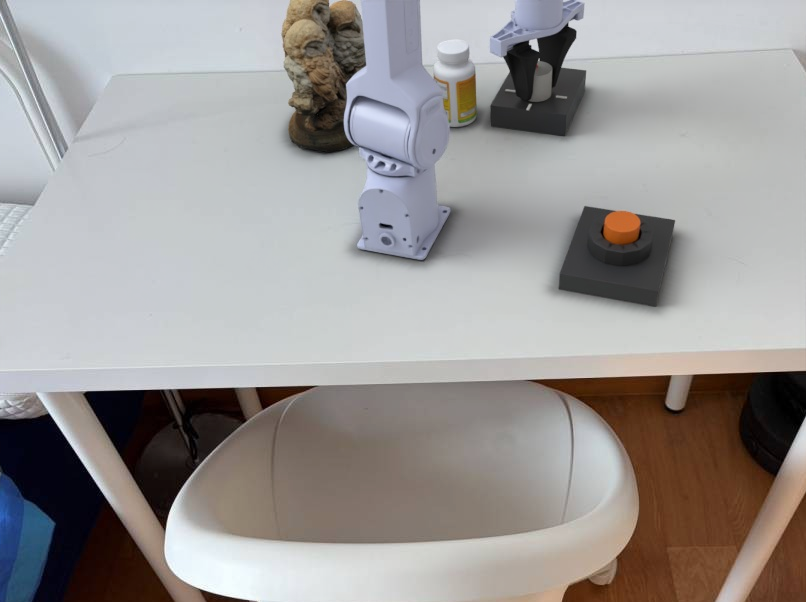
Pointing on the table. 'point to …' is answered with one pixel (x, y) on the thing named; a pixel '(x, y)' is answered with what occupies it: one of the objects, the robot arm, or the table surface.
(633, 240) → the button
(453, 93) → the supplement bottle
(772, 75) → the table surface
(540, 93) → the timer dial
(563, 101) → the timer panel
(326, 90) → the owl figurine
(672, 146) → the table surface
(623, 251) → the housing
